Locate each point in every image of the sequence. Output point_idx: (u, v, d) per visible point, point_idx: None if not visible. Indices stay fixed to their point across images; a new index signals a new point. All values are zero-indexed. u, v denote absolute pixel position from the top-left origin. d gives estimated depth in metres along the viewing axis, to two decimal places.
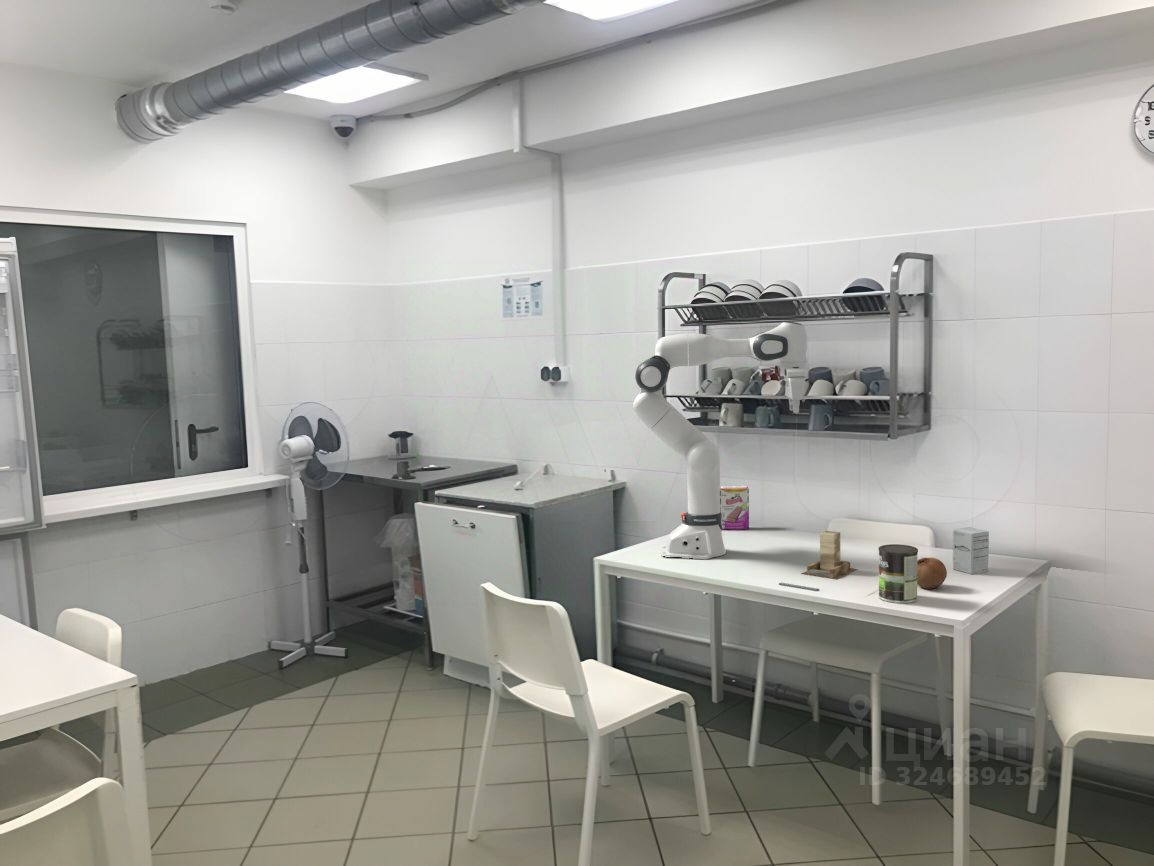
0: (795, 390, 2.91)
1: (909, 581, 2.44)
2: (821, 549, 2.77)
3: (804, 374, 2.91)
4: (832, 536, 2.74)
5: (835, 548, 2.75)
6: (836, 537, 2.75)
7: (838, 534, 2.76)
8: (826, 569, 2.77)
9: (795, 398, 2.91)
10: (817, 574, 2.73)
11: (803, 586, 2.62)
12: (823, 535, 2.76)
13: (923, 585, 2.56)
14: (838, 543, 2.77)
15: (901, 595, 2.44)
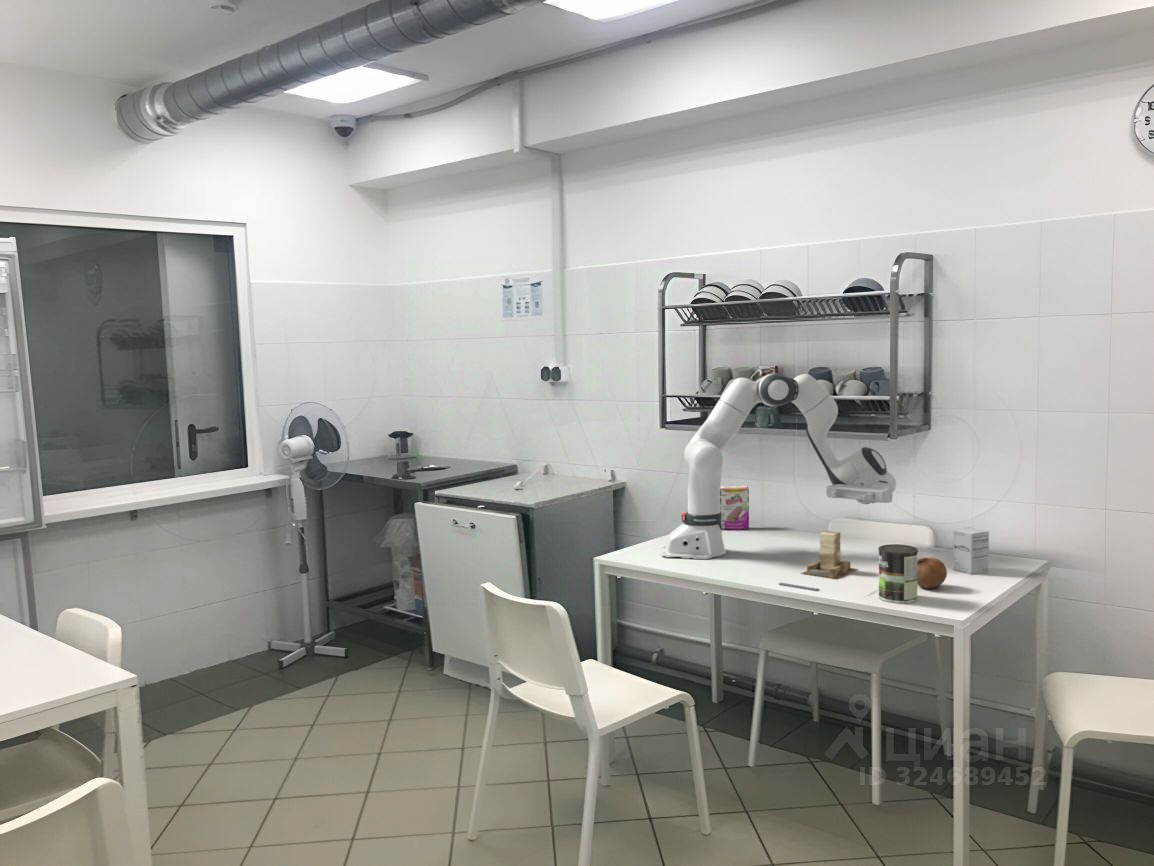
0: (888, 493, 2.84)
1: (909, 581, 2.44)
2: (821, 549, 2.77)
3: (890, 500, 2.89)
4: (832, 536, 2.74)
5: (835, 548, 2.75)
6: (836, 537, 2.75)
7: (838, 534, 2.76)
8: (826, 569, 2.77)
9: (884, 494, 2.82)
10: (817, 574, 2.73)
11: (803, 586, 2.62)
12: (823, 535, 2.76)
13: (923, 585, 2.56)
14: (838, 543, 2.77)
15: (901, 595, 2.44)
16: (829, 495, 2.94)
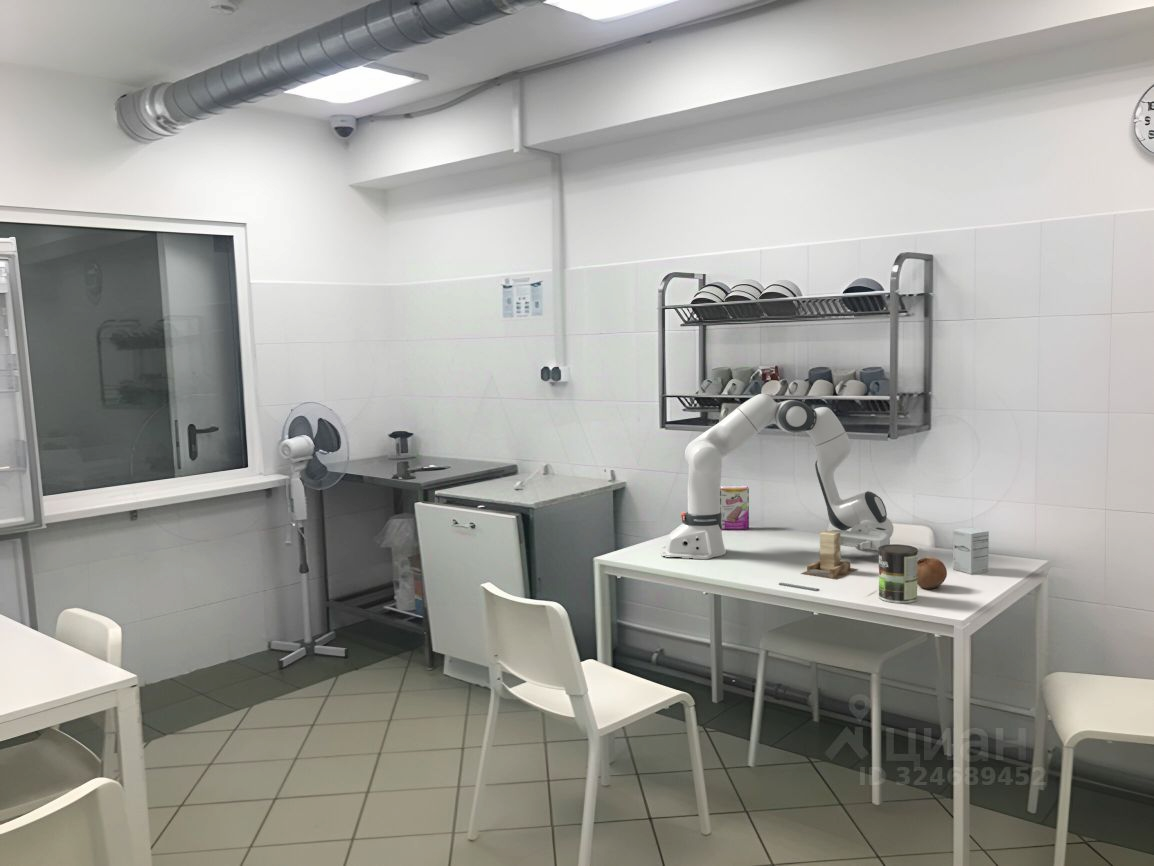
0: (885, 542, 2.84)
1: (909, 581, 2.44)
2: (821, 549, 2.77)
3: None
4: (832, 536, 2.74)
5: (835, 548, 2.75)
6: (836, 537, 2.75)
7: (838, 534, 2.76)
8: (826, 569, 2.77)
9: (881, 542, 2.82)
10: (817, 574, 2.73)
11: (803, 586, 2.62)
12: (823, 535, 2.76)
13: (923, 585, 2.56)
14: (838, 543, 2.77)
15: (901, 595, 2.44)
16: None
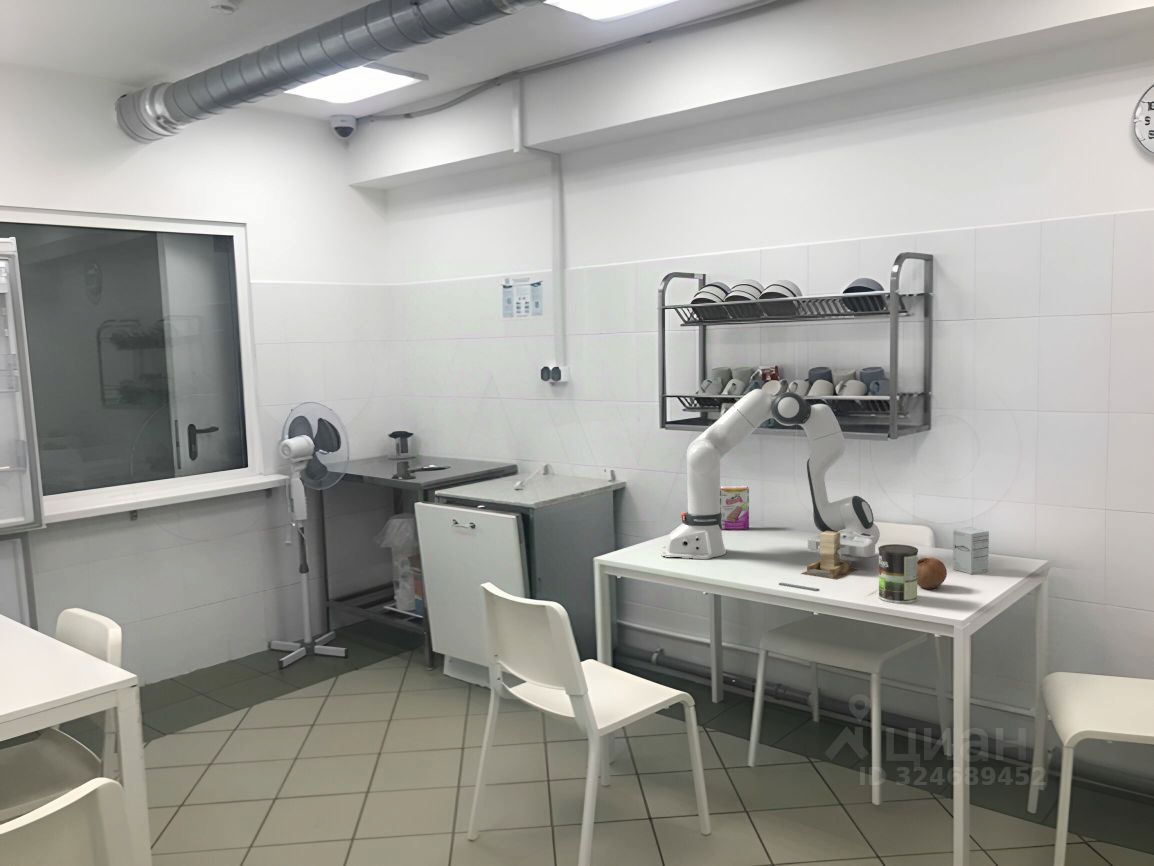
0: (870, 548, 2.76)
1: (909, 581, 2.44)
2: (821, 549, 2.77)
3: (873, 554, 2.81)
4: (832, 536, 2.74)
5: (834, 548, 2.75)
6: (836, 537, 2.75)
7: (838, 534, 2.76)
8: (826, 569, 2.77)
9: (866, 549, 2.74)
10: (817, 574, 2.73)
11: (803, 586, 2.62)
12: (823, 535, 2.76)
13: (923, 585, 2.56)
14: (838, 543, 2.77)
15: (901, 595, 2.44)
16: (810, 547, 2.86)
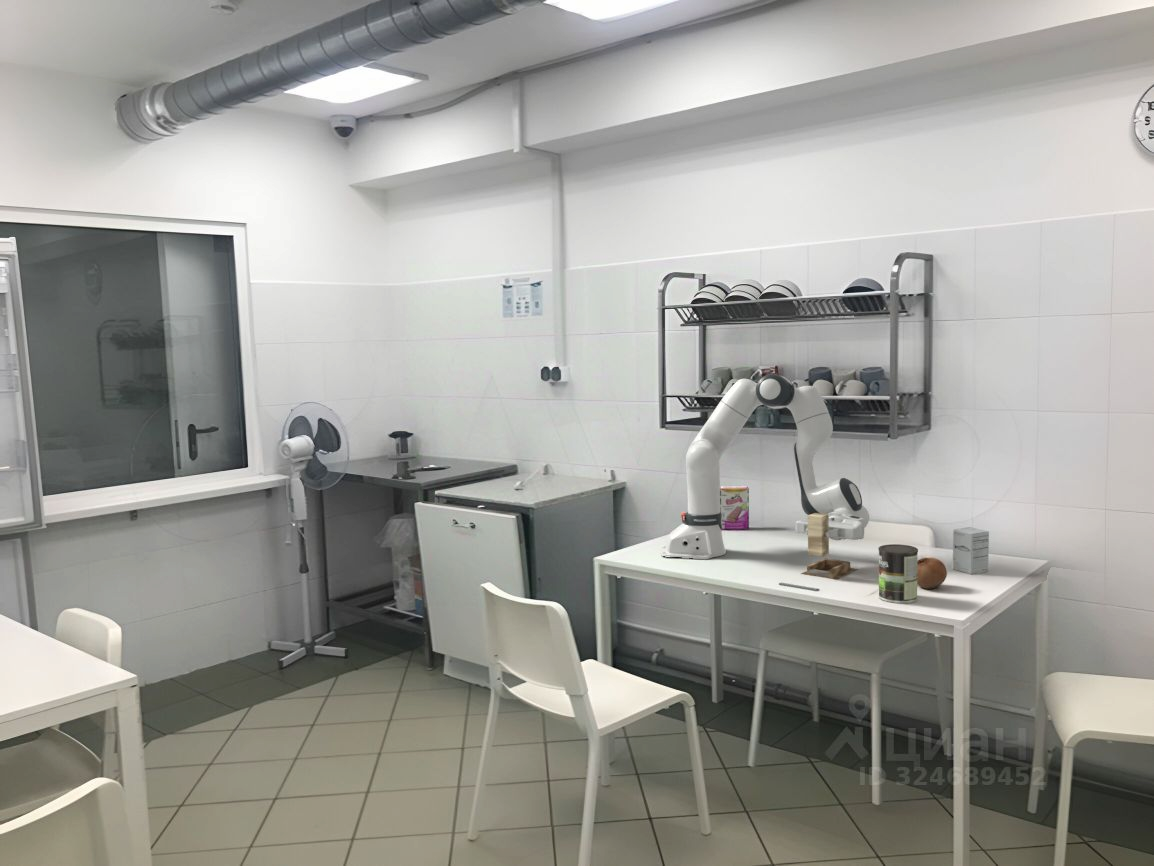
0: (859, 530, 2.70)
1: (909, 581, 2.44)
2: (809, 531, 2.71)
3: (862, 536, 2.75)
4: (820, 518, 2.68)
5: (823, 530, 2.69)
6: (824, 519, 2.69)
7: (826, 516, 2.70)
8: (814, 552, 2.70)
9: (855, 531, 2.68)
10: (817, 574, 2.73)
11: (803, 586, 2.62)
12: (811, 517, 2.70)
13: (923, 585, 2.56)
14: (826, 525, 2.70)
15: (901, 595, 2.44)
16: (798, 530, 2.80)
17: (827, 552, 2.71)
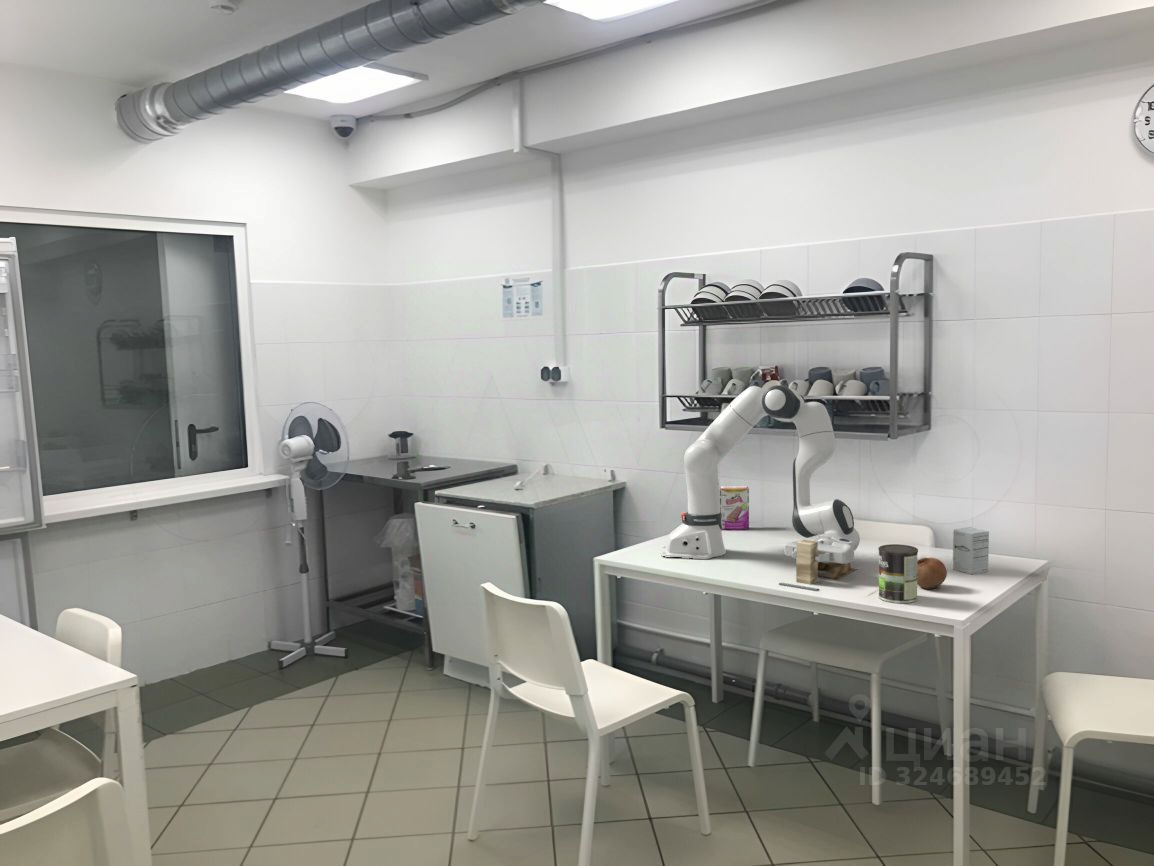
0: (849, 554, 2.65)
1: (909, 581, 2.44)
2: (797, 559, 2.66)
3: (852, 560, 2.70)
4: (809, 546, 2.63)
5: (811, 558, 2.64)
6: (813, 547, 2.64)
7: (815, 544, 2.65)
8: (802, 580, 2.66)
9: (844, 555, 2.63)
10: (817, 574, 2.73)
11: (803, 586, 2.62)
12: (800, 544, 2.65)
13: (923, 585, 2.56)
14: (815, 553, 2.65)
15: (901, 595, 2.44)
16: (787, 553, 2.75)
17: (815, 580, 2.67)
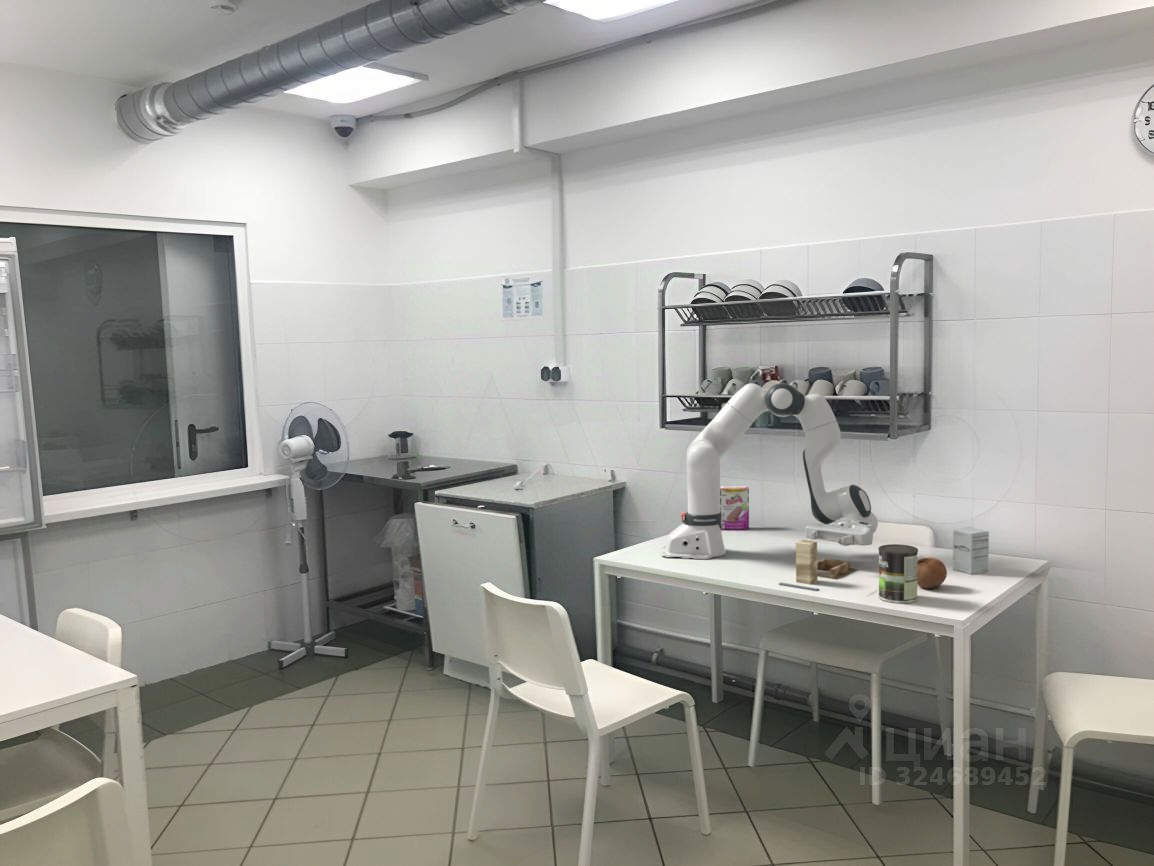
0: (868, 536, 2.75)
1: (909, 581, 2.44)
2: (797, 559, 2.66)
3: (871, 542, 2.80)
4: (808, 546, 2.63)
5: (811, 558, 2.64)
6: (812, 547, 2.64)
7: (815, 543, 2.65)
8: (802, 580, 2.66)
9: (863, 537, 2.73)
10: (817, 574, 2.73)
11: (803, 586, 2.62)
12: (799, 544, 2.65)
13: (923, 585, 2.56)
14: (815, 553, 2.66)
15: (901, 595, 2.44)
16: (808, 535, 2.86)
17: (815, 580, 2.67)
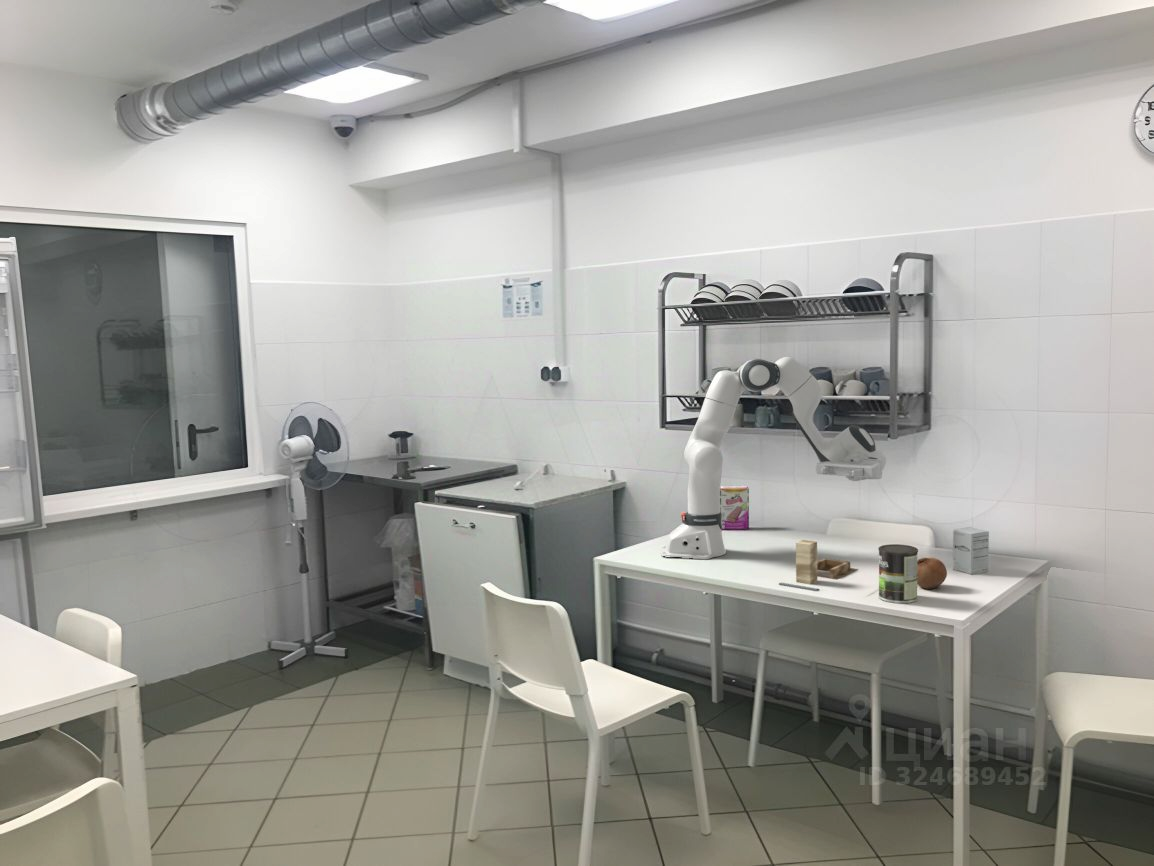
0: (878, 469, 2.82)
1: (909, 581, 2.44)
2: (797, 559, 2.66)
3: (880, 476, 2.87)
4: (808, 546, 2.63)
5: (811, 558, 2.64)
6: (812, 547, 2.64)
7: (815, 543, 2.65)
8: (802, 580, 2.66)
9: (873, 470, 2.80)
10: (817, 574, 2.73)
11: (803, 586, 2.62)
12: (799, 544, 2.65)
13: (923, 585, 2.56)
14: (815, 553, 2.66)
15: (901, 595, 2.44)
16: (818, 472, 2.92)
17: (815, 580, 2.67)
